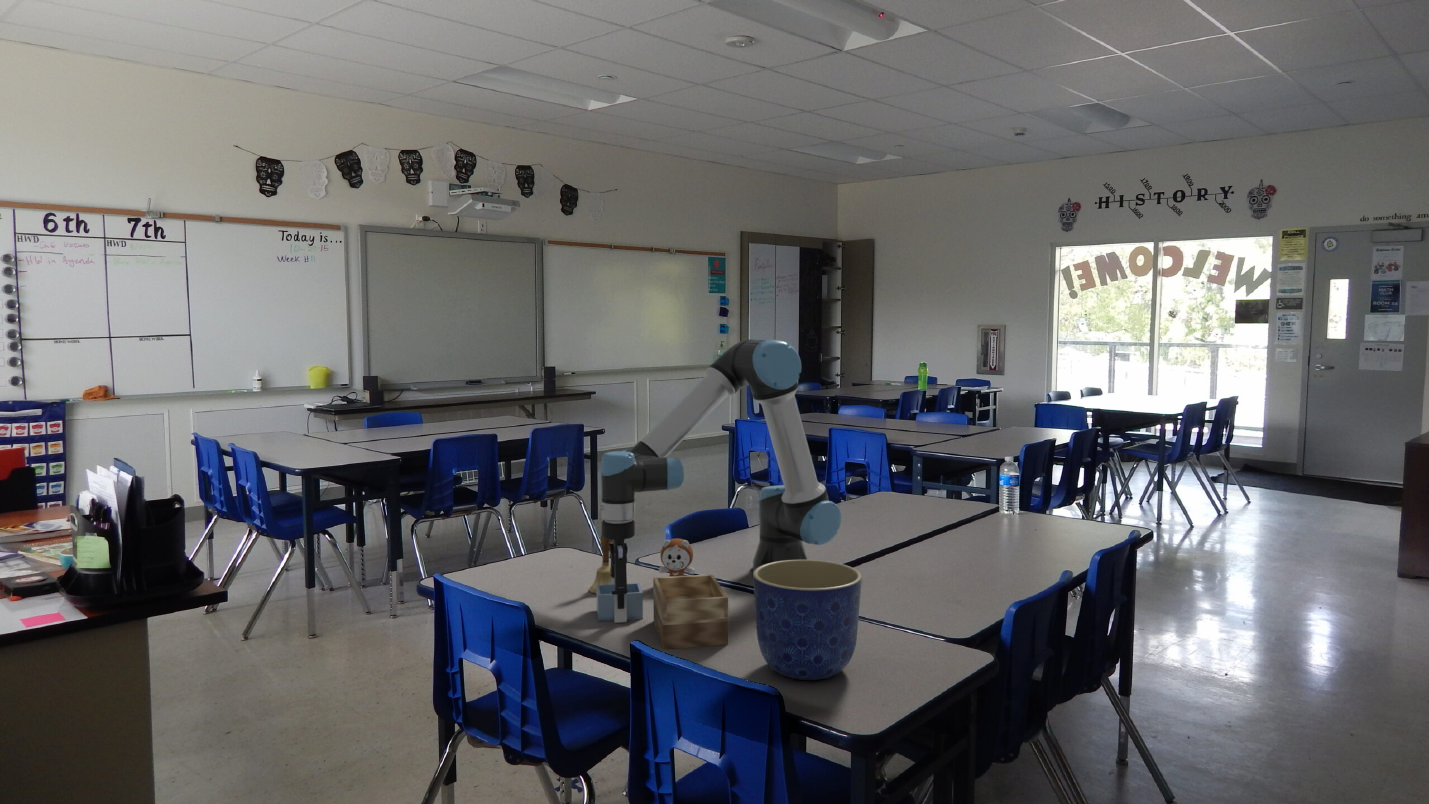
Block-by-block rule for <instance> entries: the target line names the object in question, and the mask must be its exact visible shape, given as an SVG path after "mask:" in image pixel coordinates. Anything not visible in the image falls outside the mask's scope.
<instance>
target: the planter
mask: <svg viewBox="0 0 1429 804" xmlns="http://www.w3.org/2000/svg"><path fill="white" fill-rule="evenodd" d="M752 576H753V577H752V579H753V580H752V581H753V592H754V593H753V594H754V607H755V609H754V610H755V621H756V622H755V625H756V636H757V644H758V646H759V651H760V653H761V656H762V657H763V659H764V661H765V662H766V664H767V665H768V666H769V667H770V668H771V669H772V670H773V671H774V672H776V673H777V674H780V675H782V676H783V677H786V678H790V679H794V680H800V681H801V680H802V681H818V680H824V679H828V678H831V677H835V676H836V675H837V674H840V673H841V672H842V671H843V670H844V669H845V668H846V667H847V666H848V664H849V663H850V661H851V660H852V658H853V655H854V652H855V649H856V645H857V641H858V640H857V638H858V628H859V618H860V604H861V593H862V581H863V579H862V578H863V576H862V574H861V572H860V571H859V570H857V569H856V568H854V567H852V566H850V565H846V564H843V563H839V562H835V561H834V562H833V561H827V560H819V559H808V560H785V561H777V562H772V563H768V564H765V565H762V566H760V567H758V568H757V569H755V571H754V570H753V573H752Z"/></svg>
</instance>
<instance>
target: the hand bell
mask: <svg viewBox="0 0 1429 804" xmlns="http://www.w3.org/2000/svg"><path fill="white" fill-rule="evenodd" d="M609 544H611V539H606V538H604V537H603V536H602V533H601V535H600V547H601V550H602V563H601V564H602V565H601V566H600V567H598V568H597V569H596V573H595V574H596V575H595V579H594V581H593V583H592V585H591V586H590V587H589V588H588V590H589V592H590V593H592V594H596V595H597V589H596V585H608V584H611V578H613V577H611V572H610V569H611V565H610V551H609Z"/></svg>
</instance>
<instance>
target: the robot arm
mask: <svg viewBox="0 0 1429 804" xmlns="http://www.w3.org/2000/svg"><path fill="white" fill-rule="evenodd" d="M801 373H802V361H801V358H800V355H799V353H798V352H797V350H796V348H794V347H793V346H792V345H791V344H789V343H788V342H785V341H783V340H778V339H745V340H742V341H739V342H737V343H735V344H733V345H731V346H730V347H729V348H728V349H727V350H726V351H724V352H723V353H722V354H721V355H720V356H719V357H718V358H717V359H715V361H714V362H712V363H711V364H710V365H709V366H708V367H707V368H706V374H705V376H704V377H703V378H702V379H701V380H700V381H699V382H698V383H697V384H696V385H695V386H694V387H693V388H692V389H691V390H690V391H689V392H688V393H687V394H686V395H684V397H683V398H682V399H681V400H679V401H678V402H677V404H676V405H675V406H674V407H672V409H671V410H670V411H668V413H666V415H664V417H662V419H661V420H660V421H658V422H657V424H655V425H654V426H653V428H651V429H650V430H649V431H648V432H647V433H646V434H645V435H644V436H643V438H642V439H640V440H639V441H638V442H637V443H636V444H635V445H634V446H633V447H632V448H631V449H630V448H629V449H624V450H622V451H620V450H619V451H616V450H615V451H608V452H605V453H604V454H603V455H602V456H601V463H600V465H601V466H600V480H601V481H600V482H601V483H600V484H601V486H600V487H601V505H599V506H598V509H599V511H601V519H602V521H601V534H602V536H603V537H604V538H606V539H611V544H609V560H610V567H611V569H610V572H611V577H613V578H611V584H615V591H612V595H614V620H613V621H614V623H627V621H628V620H627V592H628V590H627V582H628V579H627V578H628V577H627V576H628V575H627V563H628V550H629V549H628V545H627V542H625V540H626V539H627V540H628V539H632V538H634V537H635V533H636V532H635V529H636V527H635V525H636V524H635V523H636V522H635V520H634V519H635V517H636V499H635V495H636V494H635V493H642V492H657V491H669V490H674V489H678V488H680V487H681V486H682V485H683V482H684V478H685V470H684V466H683V462H682V461H681V460H680V459H679V457H673V456H669V455H670V454H671V453H672V452H673V451H674V450H675V449H676V448H677V447H678V446H679V445H680V443H682V442H683V441H684V439H686V438H687V437H688V436H689V434H691V433H692V432H693V430H695V429H696V428H697V427H698V426H699V425H700V424H701V423H702V422H703V421H704V420H705V418H707V417H708V416H709V415H710V414H711V413H712V412H713V411H714V410H715V409H716V408H717V407H718V406H719V405H720V404H721V403H722V402H723V401H724V400H725V399H726V398H727V397H733V396H734V395H736V393H738V392H739V391H740V390H741V389H743V388H745V387H747V386H749V388H750V391H751V394H752V395H751V396H752V398H753V400H754V401H755V402H757V403H759V404H760V405H761V407H762V411H763V415H764V419H765V422H766V425H767V429H768V433H769V436H770V441H771V443H772V447H773V451H774V454H775V457H776V462H777V466H778V469H779V472H780V476H781V479H782V483H783V484H781V485H780V484H778V485H770V486H764V487H762V488H761V489H760V491H759V498H758V503H759V507H758V508H759V511H758V512H759V513H758V514H759V516H758V517H759V518H758V519H759V521H758V522H759V527H758V529H759V541H758V545H757V548H756V551H755V554H754V557H753V560H752V570H753V572H754V571H755V569H757V568H758V567H760V566H762V565H765V564H768V563H772V562H777V561H785V560H809V559H808V555H807V553H806V549H805V546H804V543H806V544H809V545H815V546H821V545H825V544H827V543H829V542H831V541H832V540H833V539H834V538H835V537H836V535H837V534H838V530H840V528H841V525H842V512H841V509H840V507H839V506H838V505H837V504H836V503H835V502H833V501H832V500H829V495H828V491H827V488H826V486H825V484H823V483H821V482H819V481H818V479H817V478H818V477H817V474H816V470H815V466H814V462H813V459H812V456H811V452H810V451H811V450H810V447H809V444H808V440H807V436H806V433H805V429H804V426H803V422H802V417H801V414H800V410H799V406H798V403H797V399H796V393H797V392H798V389H799V384H798V381H799V379H800V374H801ZM620 587H624V588H620Z"/></svg>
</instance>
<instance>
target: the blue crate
mask: <svg viewBox="0 0 1429 804" xmlns="http://www.w3.org/2000/svg"><path fill="white" fill-rule="evenodd" d="M620 588H624V587H620ZM596 589H597V594H596V612H597V614H596V615H597V621H598V622H608V621H609V622H610V621H614V595H612V591H615V584H608V585H596ZM627 590H628V592H627V621H628V620H643V619H644V608H643V607H644V601H643V600H644V597H643V596H644V593H643V589H642V586H641V584H640V582H631V583H627Z"/></svg>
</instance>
